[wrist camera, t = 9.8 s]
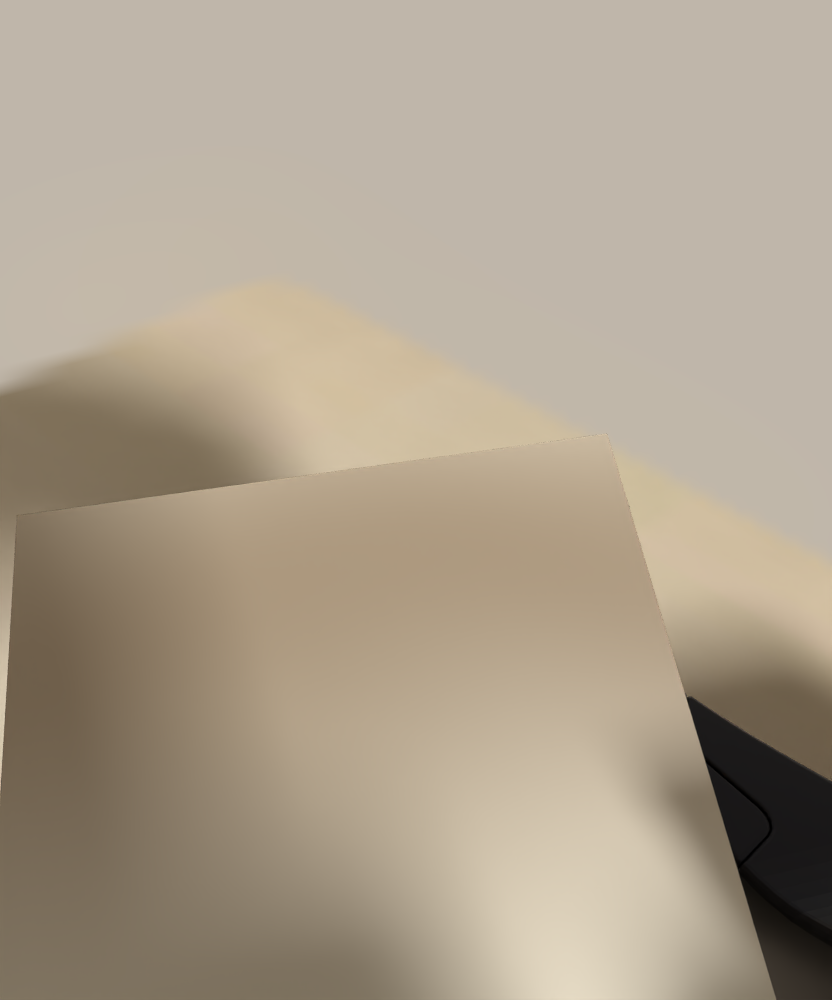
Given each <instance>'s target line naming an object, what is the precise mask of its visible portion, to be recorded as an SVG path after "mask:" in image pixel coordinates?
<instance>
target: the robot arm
mask: <svg viewBox="0 0 832 1000" xmlns="http://www.w3.org/2000/svg"><path fill="white" fill-rule="evenodd" d="M685 696H686V699H687V702H688V706H689V709H690V712H691V716H692V719H693V722H694V726H695V729H696V732H697V736H698V739H699V743H700V746H701V749H702V753H703V756H704V759H705V763H706V766H707V769H708V773H709V776H710V779H711V783H712V786H713V789H714V793H715V796H716V799H717V803H718V806H719V809H720V813H721V816H722V819H723V823H724V826H725V830H726V833H727V836H728V840H729V843H730V846H731V850H732V853H733V856H734V860H735V863H736V866H737V870H738V873H739V876H740V880H741V883H742V886H743V890H744V893H745V896H746V900H747V903H748V907H749V910H750V913H751V917H752V920H753V923H754V927H755V930H756V933H757V937H758V940H759V943H760V947H761V950H762V953H763V957H764V960H765V963H766V967H767V970H768V973H769V977H770V980H771V983H772V987H773V990H774V994H775V997H776V1000H832V781H830V780H828V779H827V778H825V777H823V776H821V775H820V774H818V773H816V772H814V771H812V770H811V769H809V768H807V767H805V766H804V765H802V764H800V763H798V762H796V761H795V760H793V759H791V758H790V757H788V756H786V755H784V754H783V753H781V752H779V751H778V750H776V749H774V748H772V747H771V746H769V745H767V744H766V743H764V742H762V741H760V740H759V739H757V738H755V737H754V736H752V735H750V734H749V733H747V732H746V731H744V730H742V729H741V728H739V727H738V726H736V725H735V724H733V723H731V722H730V721H728V720H727V719H725V718H724V717H722V716H720V715H719V714H717V713H716V712H714V711H713V710H711V709H710V708H708V707H707V706H705V705H703V704H702V703H700V702H699V701H697V700H696V699H694V698H693V697H691V696H689V697H687V695H686V693H685Z"/></svg>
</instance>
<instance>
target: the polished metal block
mask: <svg viewBox="0 0 832 1000" xmlns="http://www.w3.org/2000/svg"><path fill="white" fill-rule="evenodd" d="M0 1000H776V997H775V994H774V990H773V987H772V983H771V980H770V977H769V973H768V970H767V967H766V963H765V960H764V957H763V953H762V950H761V947H760V943H759V940H758V937H757V933H756V930H755V927H754V923H753V920H752V917H751V913H750V910H749V907H748V903H747V900H746V896H745V893H744V890H743V886H742V883H741V880H740V876H739V873H738V870H737V866H736V863H735V860H734V856H733V853H732V850H731V846H730V843H729V840H728V836H727V833H726V830H725V826H724V823H723V819H722V816H721V813H720V809H719V806H718V803H717V799H716V796H715V793H714V789H713V786H712V783H711V779H710V776H709V773H708V769H707V766H706V763H705V759H704V756H703V753H702V749H701V746H700V743H699V739H698V736H697V732H696V729H695V726H694V722H693V719H692V716H691V712H690V709H689V706H688V702H687V699H686V696H685V692H684V689H683V686H682V682H681V679H680V676H679V672H678V669H677V666H676V662H675V659H674V655H673V652H672V649H671V645H670V642H669V639H668V635H667V632H666V629H665V625H664V622H663V619H662V615H661V612H660V609H659V605H658V602H657V599H656V595H655V592H654V589H653V585H652V582H651V579H650V575H649V572H648V568H647V565H646V562H645V558H644V555H643V552H642V548H641V545H640V542H639V538H638V535H637V532H636V528H635V525H634V522H633V518H632V515H631V512H630V508H629V505H628V502H627V498H626V495H625V491H624V488H623V485H622V481H621V478H620V475H619V471H618V468H617V465H616V461H615V458H614V455H613V451H612V448H611V445H610V441H609V438H608V435H607V434H601V435H593V436H586V437H579V438H572V439H565V440H557V441H550V442H543V443H536V444H528V445H521V446H514V447H507V448H500V449H492V450H485V451H478V452H471V453H464V454H456V455H449V456H442V457H435V458H428V459H420V460H413V461H406V462H399V463H391V464H384V465H377V466H370V467H363V468H355V469H348V470H341V471H334V472H327V473H319V474H312V475H305V476H298V477H291V478H283V479H276V480H269V481H262V482H254V483H247V484H240V485H233V486H226V487H218V488H211V489H204V490H197V491H190V492H182V493H175V494H168V495H161V496H154V497H146V498H139V499H132V500H125V501H118V502H110V503H103V504H96V505H89V506H81V507H74V508H67V509H60V510H53V511H45V512H38V513H31V514H24V515H17V525H16V541H15V558H14V575H13V592H12V608H11V625H10V642H9V659H8V675H7V692H6V709H5V726H4V742H3V759H2V776H1V793H0Z"/></svg>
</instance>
